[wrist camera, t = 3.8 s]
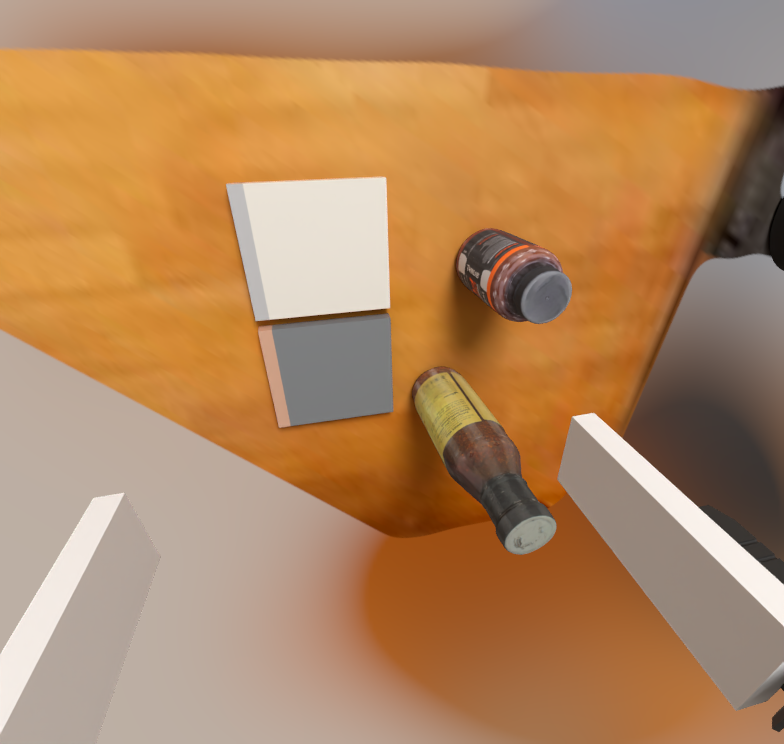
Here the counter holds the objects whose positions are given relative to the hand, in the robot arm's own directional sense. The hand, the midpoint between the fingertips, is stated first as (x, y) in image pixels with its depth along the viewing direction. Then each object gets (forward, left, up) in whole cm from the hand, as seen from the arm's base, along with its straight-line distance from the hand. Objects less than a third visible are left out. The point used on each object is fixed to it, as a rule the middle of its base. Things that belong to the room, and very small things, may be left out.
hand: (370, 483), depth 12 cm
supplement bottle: (-15, +1, -27) cm, 31 cm away
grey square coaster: (0, +11, -27) cm, 29 cm away
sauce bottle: (-11, +15, -27) cm, 33 cm away
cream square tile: (0, -1, -27) cm, 27 cm away
